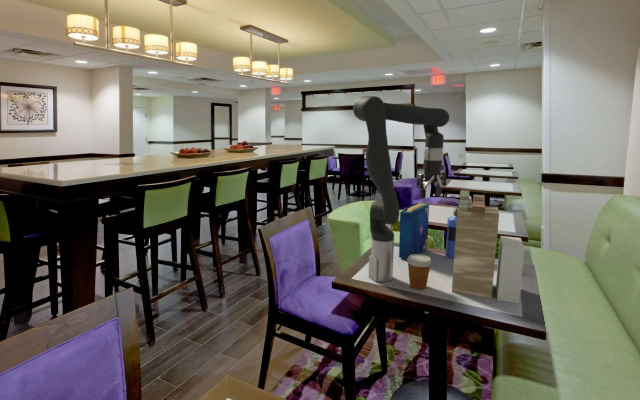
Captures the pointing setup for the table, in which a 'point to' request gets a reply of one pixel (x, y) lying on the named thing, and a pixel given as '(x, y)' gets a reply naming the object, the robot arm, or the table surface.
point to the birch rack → (474, 249)
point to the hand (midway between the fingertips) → (430, 197)
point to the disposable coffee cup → (418, 270)
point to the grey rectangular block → (509, 269)
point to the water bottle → (451, 235)
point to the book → (413, 230)
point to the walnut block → (478, 206)
